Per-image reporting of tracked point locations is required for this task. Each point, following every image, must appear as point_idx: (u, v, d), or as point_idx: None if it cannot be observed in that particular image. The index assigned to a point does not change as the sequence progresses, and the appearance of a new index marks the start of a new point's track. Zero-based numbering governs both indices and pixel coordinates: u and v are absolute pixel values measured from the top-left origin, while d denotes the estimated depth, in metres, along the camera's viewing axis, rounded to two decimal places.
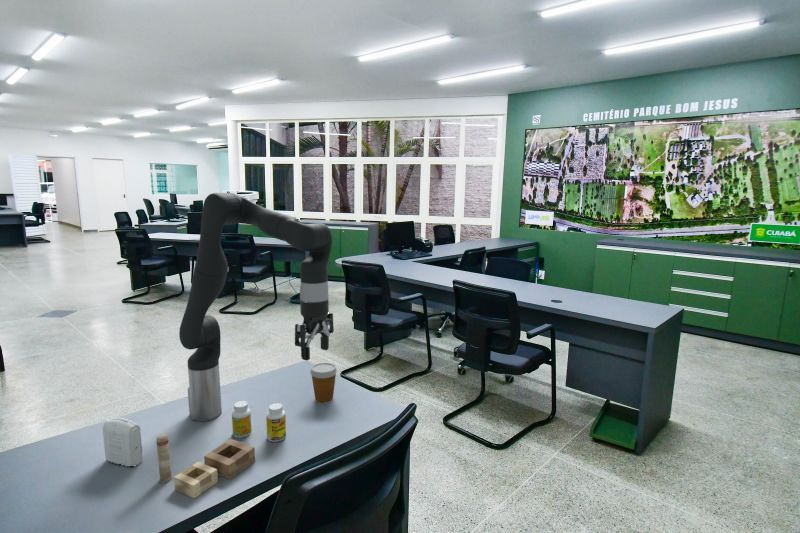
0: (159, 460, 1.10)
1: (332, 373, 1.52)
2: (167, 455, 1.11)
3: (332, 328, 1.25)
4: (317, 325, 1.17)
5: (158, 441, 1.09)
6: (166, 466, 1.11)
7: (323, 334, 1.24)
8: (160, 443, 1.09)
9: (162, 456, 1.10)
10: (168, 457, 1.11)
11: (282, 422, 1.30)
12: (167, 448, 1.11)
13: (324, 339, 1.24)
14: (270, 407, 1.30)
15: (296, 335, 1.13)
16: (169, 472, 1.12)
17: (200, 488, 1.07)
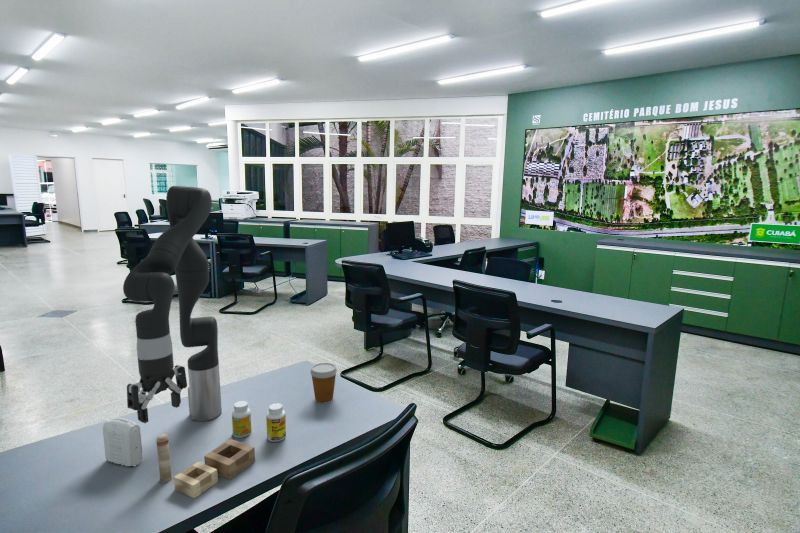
0: (159, 460, 1.10)
1: (332, 373, 1.52)
2: (167, 455, 1.11)
3: (184, 383, 1.14)
4: (157, 383, 1.06)
5: (158, 441, 1.09)
6: (166, 466, 1.11)
7: (173, 390, 1.12)
8: (160, 443, 1.09)
9: (162, 456, 1.10)
10: (168, 457, 1.11)
11: (282, 422, 1.30)
12: (167, 448, 1.11)
13: (174, 396, 1.12)
14: (270, 407, 1.30)
15: (128, 397, 1.02)
16: (169, 472, 1.12)
17: (200, 488, 1.07)
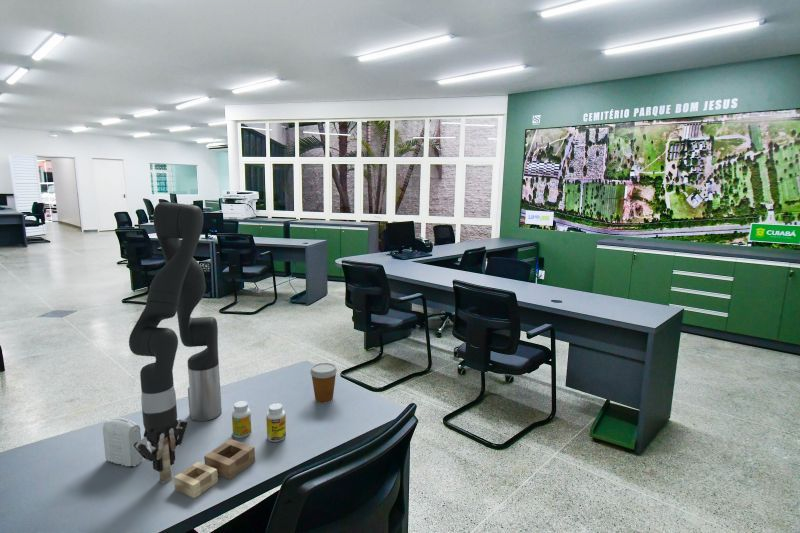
0: None
1: (332, 373, 1.52)
2: (167, 455, 1.11)
3: (179, 440, 1.14)
4: (161, 436, 1.08)
5: None
6: (166, 466, 1.11)
7: None
8: None
9: (162, 456, 1.10)
10: (168, 457, 1.11)
11: (282, 422, 1.30)
12: (167, 448, 1.11)
13: None
14: (270, 407, 1.30)
15: (140, 453, 1.06)
16: (169, 472, 1.12)
17: (200, 488, 1.07)
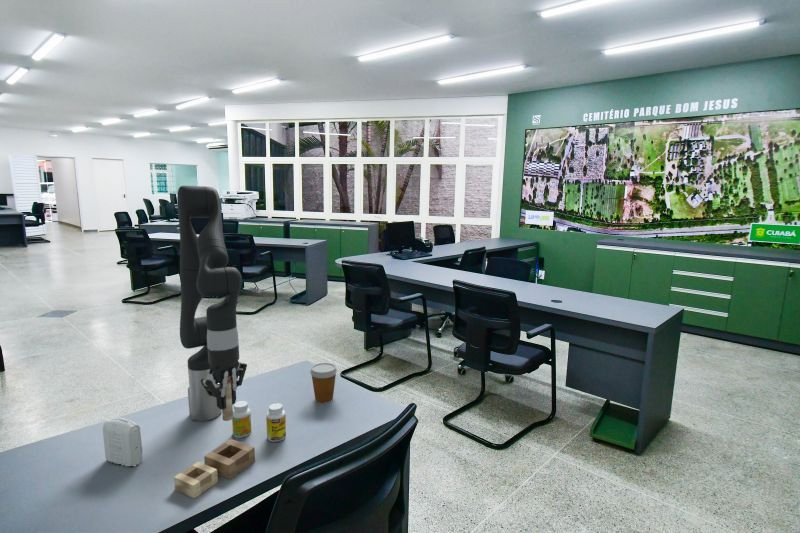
0: None
1: (332, 373, 1.52)
2: (230, 394, 1.15)
3: (240, 381, 1.18)
4: (225, 373, 1.12)
5: None
6: (229, 404, 1.15)
7: None
8: None
9: (225, 394, 1.14)
10: (231, 396, 1.15)
11: (282, 422, 1.30)
12: (230, 387, 1.15)
13: None
14: (270, 407, 1.30)
15: (206, 389, 1.10)
16: (231, 411, 1.16)
17: (200, 488, 1.07)
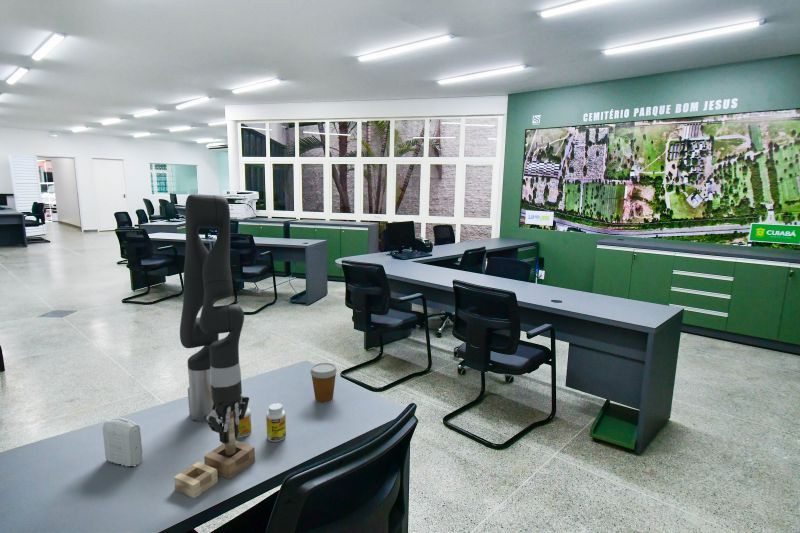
0: None
1: (332, 373, 1.52)
2: (233, 428, 1.16)
3: (242, 414, 1.19)
4: (228, 409, 1.14)
5: None
6: (231, 438, 1.16)
7: None
8: None
9: (228, 429, 1.16)
10: (233, 430, 1.17)
11: (282, 422, 1.30)
12: (233, 421, 1.16)
13: None
14: (270, 407, 1.30)
15: (209, 425, 1.12)
16: (234, 445, 1.17)
17: (200, 488, 1.07)
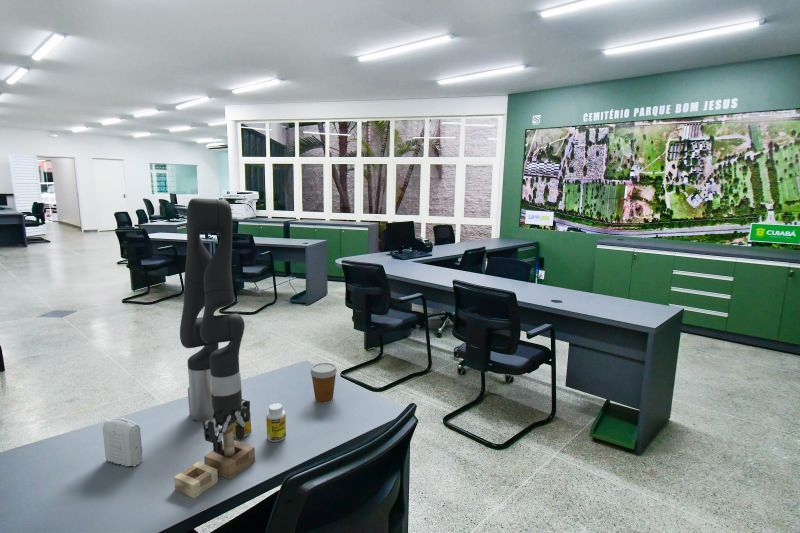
0: (225, 447, 1.16)
1: (332, 373, 1.52)
2: (232, 442, 1.17)
3: (248, 417, 1.21)
4: (228, 417, 1.14)
5: None
6: (231, 452, 1.17)
7: (238, 423, 1.20)
8: (226, 431, 1.15)
9: (227, 443, 1.16)
10: (233, 444, 1.17)
11: (282, 422, 1.30)
12: (232, 435, 1.17)
13: (238, 429, 1.20)
14: (270, 407, 1.30)
15: (205, 431, 1.11)
16: None
17: (200, 488, 1.07)
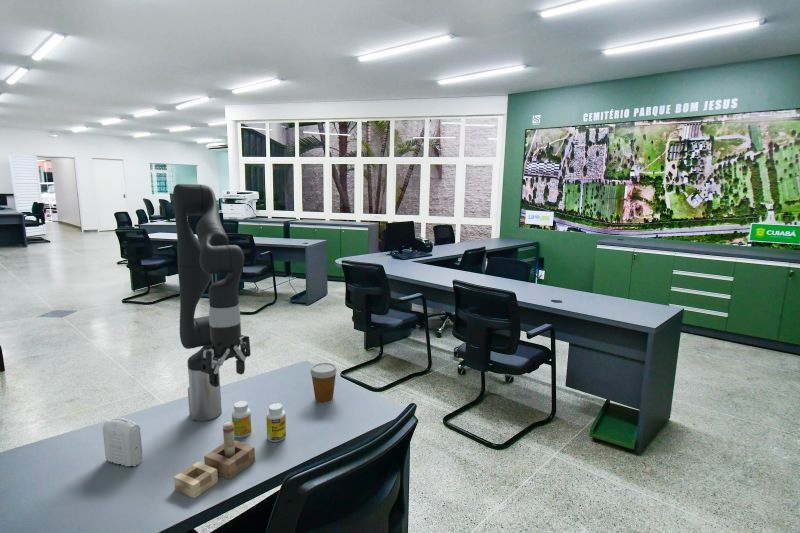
0: (225, 446, 1.16)
1: (332, 373, 1.52)
2: (233, 442, 1.17)
3: (248, 351, 1.21)
4: (227, 350, 1.13)
5: (225, 428, 1.15)
6: (231, 452, 1.17)
7: (238, 358, 1.19)
8: (227, 430, 1.15)
9: (228, 443, 1.16)
10: (233, 444, 1.17)
11: (282, 422, 1.30)
12: (233, 435, 1.17)
13: (239, 363, 1.19)
14: (270, 407, 1.30)
15: (202, 361, 1.09)
16: None
17: (200, 488, 1.07)
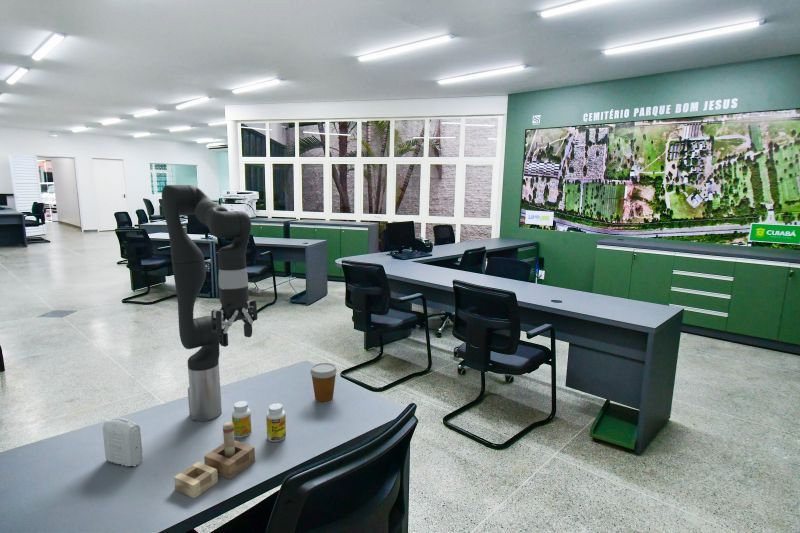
0: (225, 446, 1.16)
1: (332, 373, 1.52)
2: (232, 442, 1.17)
3: (256, 315, 1.26)
4: (236, 312, 1.18)
5: (225, 428, 1.15)
6: (231, 452, 1.17)
7: (246, 321, 1.25)
8: (227, 430, 1.15)
9: (228, 443, 1.16)
10: (233, 444, 1.17)
11: (282, 422, 1.30)
12: (233, 435, 1.17)
13: (247, 326, 1.25)
14: (270, 407, 1.30)
15: (212, 321, 1.15)
16: None
17: (200, 488, 1.07)
